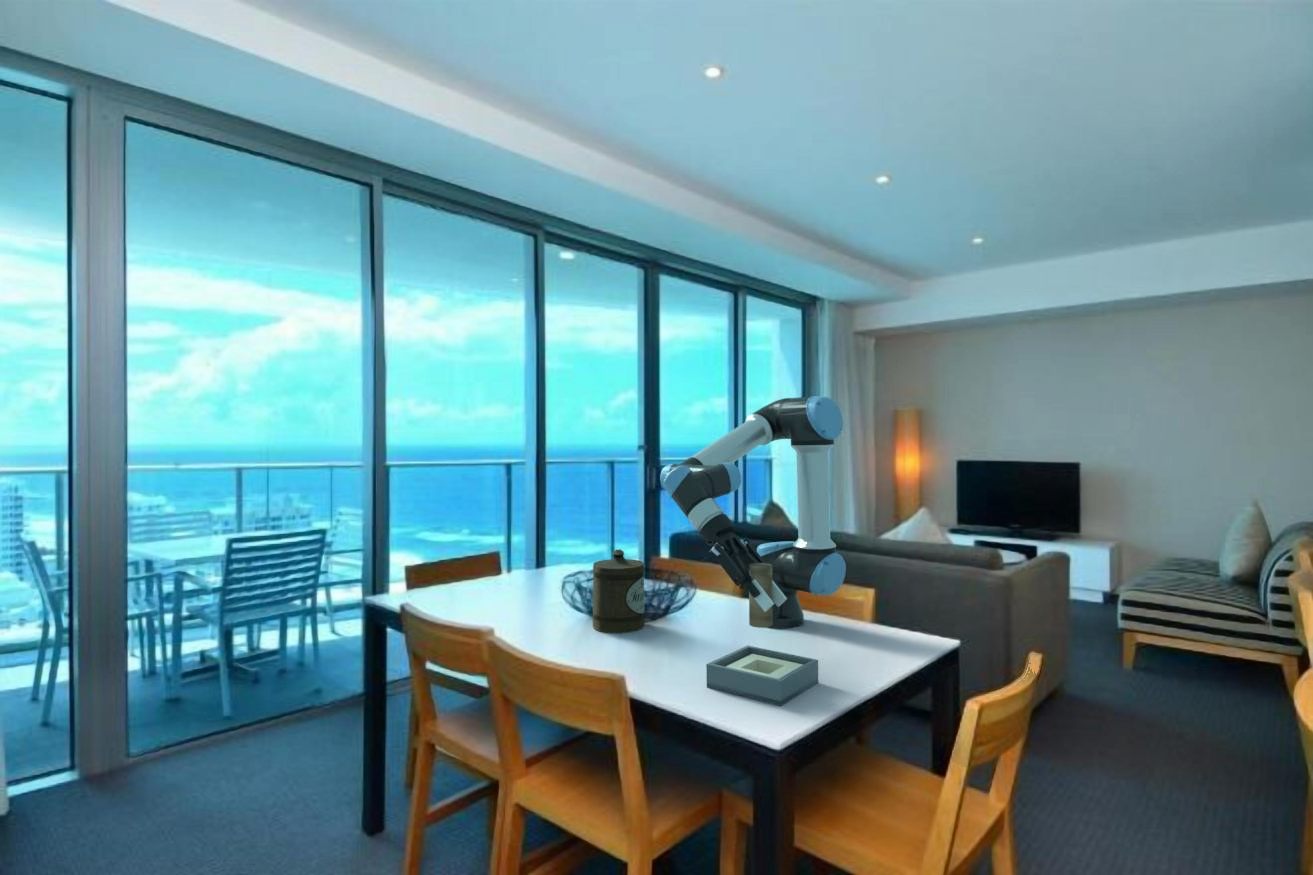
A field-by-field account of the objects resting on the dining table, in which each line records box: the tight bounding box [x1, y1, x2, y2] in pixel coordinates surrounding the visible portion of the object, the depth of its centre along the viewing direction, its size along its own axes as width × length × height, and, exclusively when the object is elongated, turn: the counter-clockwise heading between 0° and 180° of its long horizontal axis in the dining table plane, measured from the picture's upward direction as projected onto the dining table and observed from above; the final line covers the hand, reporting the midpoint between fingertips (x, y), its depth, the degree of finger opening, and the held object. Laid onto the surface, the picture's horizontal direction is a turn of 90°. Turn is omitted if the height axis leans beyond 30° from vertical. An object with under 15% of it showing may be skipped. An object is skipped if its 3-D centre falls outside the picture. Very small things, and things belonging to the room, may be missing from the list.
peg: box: [748, 563, 772, 629], centre depth 155 cm, size 5×5×13 cm
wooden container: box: [592, 549, 645, 634], centre depth 205 cm, size 15×15×22 cm
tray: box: [705, 645, 819, 707], centre depth 156 cm, size 17×18×5 cm
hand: (775, 604), depth 153 cm, fingers closed on peg, 5 cm apart
